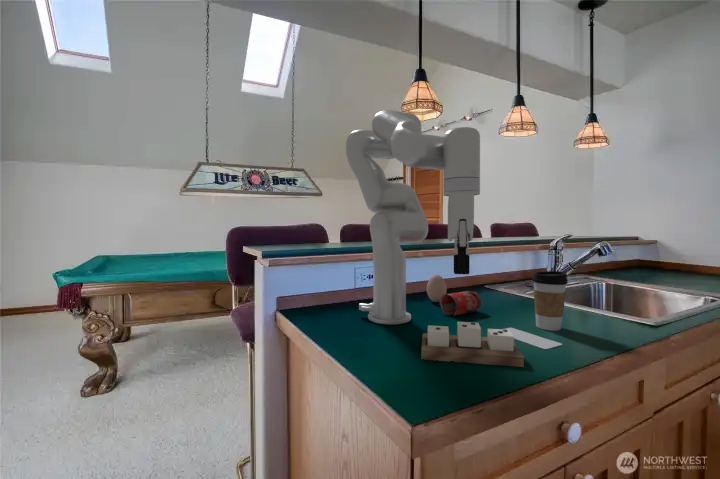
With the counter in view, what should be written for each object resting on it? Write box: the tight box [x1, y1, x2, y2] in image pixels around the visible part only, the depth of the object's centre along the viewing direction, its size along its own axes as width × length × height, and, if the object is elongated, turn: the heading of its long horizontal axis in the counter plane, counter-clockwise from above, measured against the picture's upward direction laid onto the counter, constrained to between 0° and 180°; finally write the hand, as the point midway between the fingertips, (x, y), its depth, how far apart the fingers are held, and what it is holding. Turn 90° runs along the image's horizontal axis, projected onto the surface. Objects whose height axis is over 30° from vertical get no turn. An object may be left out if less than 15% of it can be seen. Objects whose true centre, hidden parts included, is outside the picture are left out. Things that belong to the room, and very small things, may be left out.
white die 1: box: [427, 325, 450, 347], centre depth 79 cm, size 4×4×4 cm
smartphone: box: [501, 327, 564, 351], centre depth 87 cm, size 7×1×15 cm
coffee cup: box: [532, 270, 569, 332], centre depth 95 cm, size 8×8×15 cm
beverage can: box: [439, 290, 482, 317], centre depth 110 cm, size 7×12×7 cm, turn 120°
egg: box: [426, 274, 448, 303], centre depth 124 cm, size 7×7×10 cm
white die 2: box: [456, 321, 482, 348], centre depth 77 cm, size 4×4×4 cm
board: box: [420, 332, 525, 368], centre depth 77 cm, size 20×11×2 cm, turn 79°
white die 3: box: [486, 328, 515, 351], centre depth 76 cm, size 4×4×4 cm
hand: (461, 273), depth 76 cm, fingers closed
